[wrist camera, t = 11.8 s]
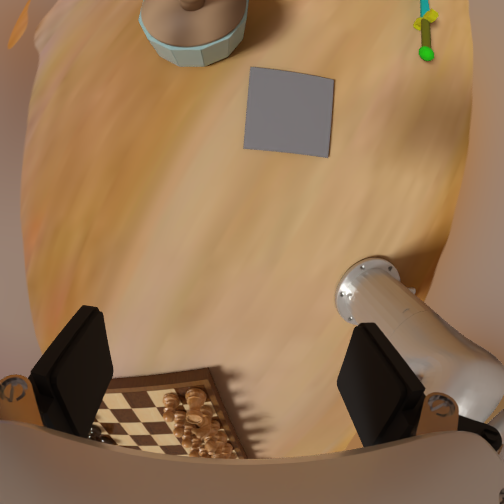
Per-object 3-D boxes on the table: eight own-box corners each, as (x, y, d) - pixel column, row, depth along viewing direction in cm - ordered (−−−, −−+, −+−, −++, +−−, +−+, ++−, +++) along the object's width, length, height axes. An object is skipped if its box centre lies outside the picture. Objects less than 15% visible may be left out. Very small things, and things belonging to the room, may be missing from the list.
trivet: (332, 80, 36) (333, 79, 35) (326, 157, 40) (327, 157, 39) (250, 68, 35) (250, 66, 34) (243, 148, 38) (243, 148, 38)
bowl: (247, -1, 30) (252, -28, 23) (239, 70, 35) (242, 51, 27) (161, -1, 29) (150, -26, 22) (148, 69, 33) (131, 52, 26)
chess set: (208, 365, 50) (206, 428, 36) (250, 463, 64) (256, 507, 50) (47, 379, 49) (22, 422, 35) (122, 469, 63) (115, 506, 49)
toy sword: (431, 49, 28) (420, -46, 23) (409, 61, 34) (406, -33, 29) (444, 57, 28) (431, -39, 24) (421, 68, 34) (416, -27, 30)
